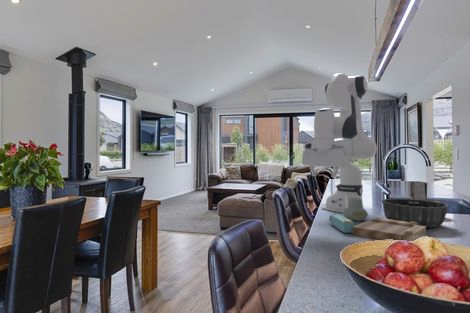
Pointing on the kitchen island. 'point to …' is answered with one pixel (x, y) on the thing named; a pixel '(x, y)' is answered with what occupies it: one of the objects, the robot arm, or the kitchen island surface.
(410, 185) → the coffee box
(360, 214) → the air freshener
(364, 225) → the tan box with knobs
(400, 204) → the bundt pan
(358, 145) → the robot arm
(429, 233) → the kitchen island surface
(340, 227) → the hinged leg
